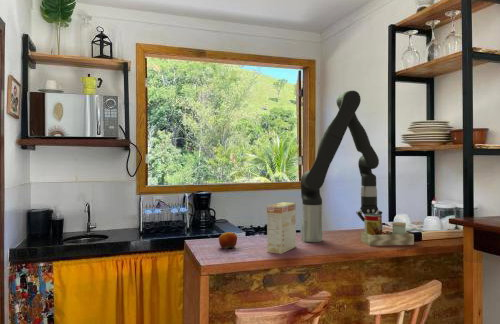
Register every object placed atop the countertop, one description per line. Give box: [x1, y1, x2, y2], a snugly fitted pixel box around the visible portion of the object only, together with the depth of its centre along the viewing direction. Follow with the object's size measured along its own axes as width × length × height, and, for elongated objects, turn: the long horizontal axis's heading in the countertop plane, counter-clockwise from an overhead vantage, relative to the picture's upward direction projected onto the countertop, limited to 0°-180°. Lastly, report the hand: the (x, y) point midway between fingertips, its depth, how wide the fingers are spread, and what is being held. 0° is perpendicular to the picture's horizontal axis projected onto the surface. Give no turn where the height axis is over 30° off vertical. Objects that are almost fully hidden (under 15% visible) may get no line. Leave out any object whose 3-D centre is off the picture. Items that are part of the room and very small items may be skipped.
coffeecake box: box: [266, 201, 297, 255], centre depth 158 cm, size 15×7×20 cm, turn 149°
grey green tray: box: [361, 230, 415, 247], centre depth 169 cm, size 20×10×4 cm, turn 93°
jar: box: [391, 221, 407, 235], centre depth 170 cm, size 6×6×9 cm
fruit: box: [218, 231, 238, 250], centre depth 161 cm, size 8×8×8 cm
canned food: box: [363, 213, 383, 235], centre depth 176 cm, size 8×8×12 cm
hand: (369, 230), depth 181 cm, fingers closed
